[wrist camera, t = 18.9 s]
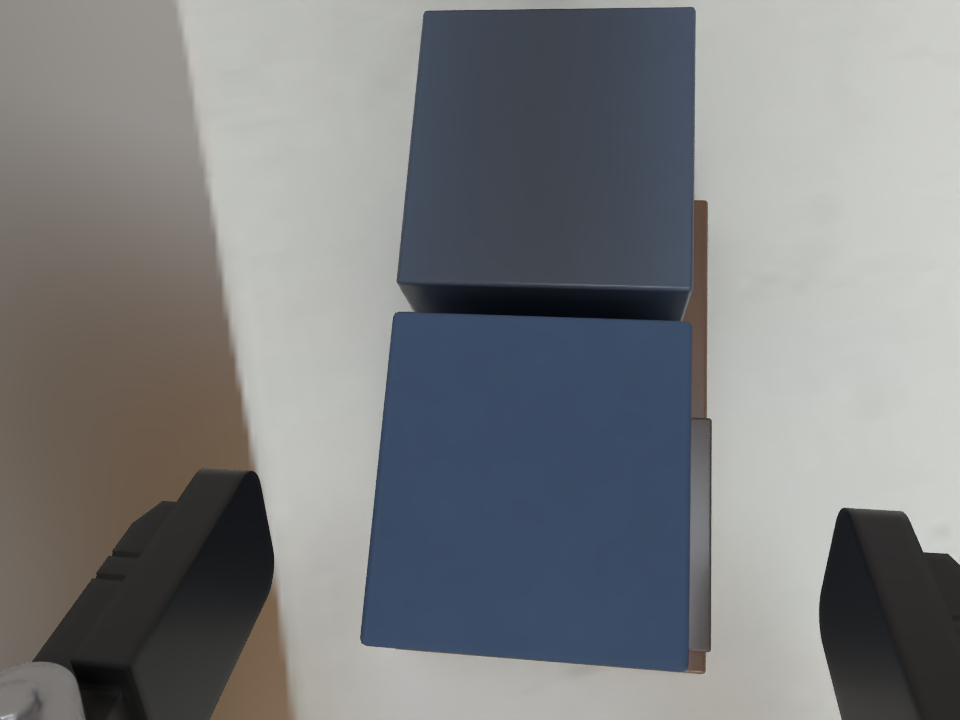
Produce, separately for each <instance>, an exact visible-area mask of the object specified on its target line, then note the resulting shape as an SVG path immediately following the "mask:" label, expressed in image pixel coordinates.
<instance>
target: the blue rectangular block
mask: <svg viewBox="0 0 960 720" xmlns="http://www.w3.org/2000/svg"><path fill="white" fill-rule="evenodd" d="M691 404H692V326H691V323H689V322H687V321H664V320H633V319H603V318H572V317H542V316H511V315H481V314H450V313H420V312H397V313H395V315H394V317H393V323H392V333H391V343H390V353H389V362H388V372H387V382H386V392H385V401H384V411H383V421H382V431H381V441H380V450H379V460H378V470H377V480H376V489H375V499H374V509H373V519H372V528H371V538H370V548H369V558H368V567H367V577H366V587H365V597H364V606H363V616H362V626H361V636H360V639H361V643H362V644H364V645H366V646H374V647H386V648H398V649H410V650H422V651H434V652H446V653H458V654H470V655H482V656H494V657H506V658H519V659H531V660H543V661H555V662H567V663H579V664H591V665H603V666H615V667H627V668H639V669H651V670H663V671H675V672H683V671H686V670H687V668H688V666H689V590H690V497H691Z"/></svg>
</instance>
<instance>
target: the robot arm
mask: <svg viewBox="0 0 960 720" xmlns="http://www.w3.org/2000/svg"><path fill="white" fill-rule="evenodd" d="M273 572H274V552H273V546H272V541H271V536H270V531H269V525H268V520H267V515H266V510H265V504H264V499H263V494H262V489H261V484H260V480H259V477H258V476H257V474H256V473H255V472H253V471H243V470H226V469H208V468H203V469H201V470H199V471H198V472H197V473H196V474H195V476H194V477H193V479H192V480H191V481H190V483H189V485H188V486H187V487H186V489H185V490H184V492H183V493H182V495H181V496H180V498H179V499H178V501H177V502H168V501H162V502H161V503H159V504H158V505H157V506H155V507H154V508H153V509H151V510H150V511H149V512H147V513H146V514H145V515H143V516H142V517H141V518H139V519H138V520H137V521H135V522H134V523H133V524H132V525H131V526H130V527H129V529H128V530H127V531H126V533H125V534H124V536H123V537H122V538H121V540H120V541H119V542H118V544H117V545H116V547H115V548H114V549H113V554H112V556H108V558H107V559H106V560H105V562H104V563H103V565H102V566H101V567H100V569H99V570H98V572H97V576H96V579H92V580H91V581H90V583H89V584H88V585H87V587H86V588H85V590H84V591H83V592H82V594H81V595H80V596H79V598H78V599H77V600H76V602H75V603H74V605H73V606H72V608H71V609H70V610H69V612H68V613H67V614H66V616H65V617H64V618H63V620H62V621H61V623H60V624H59V625H58V627H57V628H56V630H55V631H54V632H53V634H52V635H51V636H50V638H49V639H48V641H47V642H46V643H45V645H44V646H43V647H42V649H41V650H40V652H39V653H38V655H37V656H36V657H35V659H34V660H33V661H32V662H29V663H24V664H19V665H16V666H13V667H9V668H7V669H4V670H2V671H0V720H210V718H211V715H212V713H213V711H214V709H215V707H216V705H217V703H218V701H219V698H220V696H221V694H222V692H223V690H224V688H225V686H226V683H227V681H228V679H229V677H230V675H231V673H232V671H233V669H234V666H235V664H236V662H237V660H238V658H239V656H240V654H241V652H242V650H243V647H244V645H245V643H246V641H247V639H248V637H249V635H250V633H251V630H252V628H253V626H254V624H255V622H256V620H257V618H258V616H259V613H260V612H261V609H262V607H263V605H264V603H265V601H266V599H267V596H268V594H269V591H270V588H271V584H272V579H273ZM819 622H820V633H821V639H822V644H823V648H824V652H825V656H826V660H827V664H828V667H829V671H830V675H831V679H832V683H833V687H834V691H835V695H836V699H837V703H838V707H839V710H840V714H841V718H842V720H960V565H959V564H958V563H957V562H956V561H955V560H954V559H953V558H952V557H951V556H950V555H949V554H940V553H925V552H923V551H922V548H921V546H920V544H919V541H918V539H917V537H916V535H915V532H914V530H913V528H912V525H911V523H910V521H909V519H908V517H907V515H906V514H905V513H904V512H901V511H887V510H870V509H854V508H842V509H841V510H840V512H839V514H838V516H837V520H836V524H835V529H834V533H833V538H832V543H831V547H830V552H829V557H828V561H827V566H826V571H825V575H824V580H823V585H822V589H821V595H820V605H819Z"/></svg>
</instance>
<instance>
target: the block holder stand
mask: <svg viewBox="0 0 960 720" xmlns="http://www.w3.org/2000/svg"><path fill="white" fill-rule="evenodd" d="M695 25H696V11H695V9H694V8H692V7H673V8H599V9H525V10H452V11H425V13H424V15H423V25H422V34H421V44H420V54H419V64H418V74H417V84H416V94H415V104H414V114H413V124H412V134H411V143H410V153H409V163H408V173H407V183H406V193H405V203H404V213H403V223H402V233H401V243H400V252H399V262H398V272H397V283H398V285H399V287H400V289H401V290H402V292H403V294H404V295H405V297H406V299H407V300H408V302H409V304H410V306H411V307H412V309H413V311H414V312H420V313H450V314H481V315H511V316H542V317H572V318H603V319H633V320H664V321H687V322H689V323H691V326H692V404H691V497H690V590H689V666H688V668H687V670H686V671H683V673H695V674H703V673H705V670H706V652H710V650H711V449H712V421H711V419H709V418H707V243H708V203H707V201H703V200H694V136H695ZM395 649H398V648H395ZM401 650H410V649H401ZM413 651H422V650H413ZM426 652H434V651H426ZM438 653H446V652H438ZM450 654H458V653H450ZM462 655H470V654H462ZM475 656H482V655H475ZM487 657H494V656H487ZM499 658H506V657H499ZM511 659H519V658H511ZM524 660H531V659H524ZM536 661H543V660H536ZM548 662H555V661H548ZM560 663H567V662H560ZM573 664H579V663H573ZM585 665H591V664H585ZM597 666H603V665H597ZM609 667H615V666H609ZM622 668H627V667H622ZM634 669H639V668H634ZM646 670H651V669H646ZM658 671H663V670H658ZM671 672H675V671H671Z"/></svg>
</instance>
